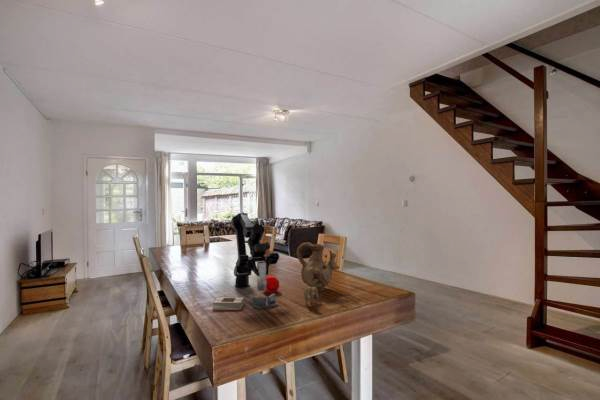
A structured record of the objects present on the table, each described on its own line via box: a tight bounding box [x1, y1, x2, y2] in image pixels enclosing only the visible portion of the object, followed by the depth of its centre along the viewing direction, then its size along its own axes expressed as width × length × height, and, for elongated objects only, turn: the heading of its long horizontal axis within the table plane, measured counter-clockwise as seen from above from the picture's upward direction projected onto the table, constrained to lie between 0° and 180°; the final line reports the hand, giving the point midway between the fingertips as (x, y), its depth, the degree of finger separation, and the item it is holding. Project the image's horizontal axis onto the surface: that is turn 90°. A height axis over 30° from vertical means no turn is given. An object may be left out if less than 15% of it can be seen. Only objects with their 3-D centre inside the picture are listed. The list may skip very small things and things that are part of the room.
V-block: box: [249, 293, 279, 310], centre depth 138 cm, size 10×11×4 cm
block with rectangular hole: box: [212, 296, 245, 311], centre depth 134 cm, size 8×12×3 cm, turn 90°
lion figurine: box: [303, 286, 320, 307], centre depth 139 cm, size 15×5×9 cm, turn 165°
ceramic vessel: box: [296, 241, 340, 292], centre depth 161 cm, size 18×19×25 cm
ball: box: [264, 275, 280, 294], centre depth 157 cm, size 8×8×8 cm
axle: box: [256, 261, 267, 291], centre depth 137 cm, size 4×4×12 cm
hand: (262, 275), depth 136 cm, fingers closed on axle, 4 cm apart
